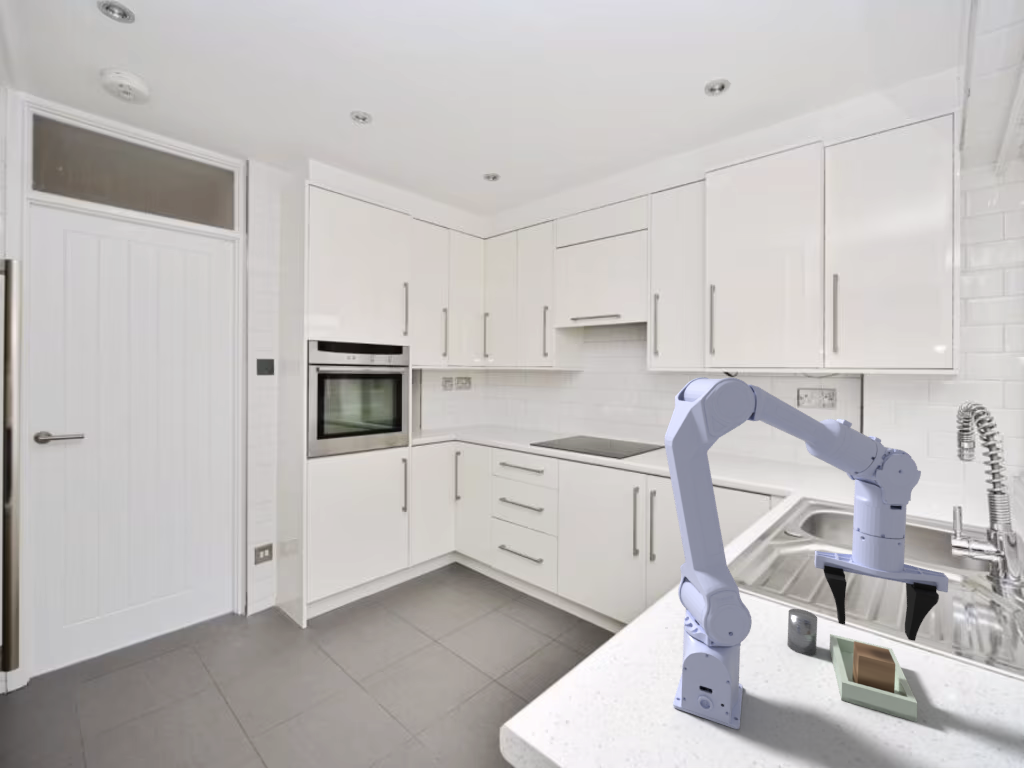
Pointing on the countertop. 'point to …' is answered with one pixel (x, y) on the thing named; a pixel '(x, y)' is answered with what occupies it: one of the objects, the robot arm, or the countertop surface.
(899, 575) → the robot arm
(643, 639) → the countertop surface
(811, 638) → the steel cylinder
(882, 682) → the walnut block
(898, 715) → the tray
